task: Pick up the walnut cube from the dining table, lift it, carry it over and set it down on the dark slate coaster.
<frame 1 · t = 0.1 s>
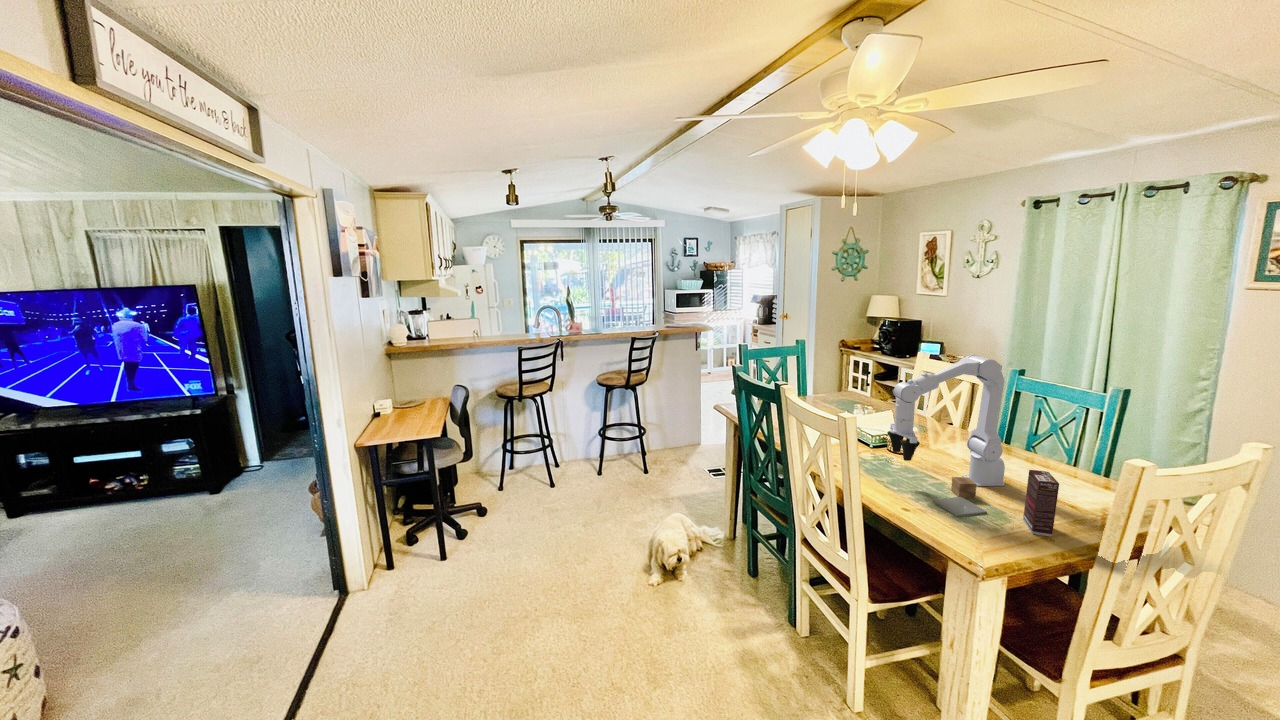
hand: (901, 455, 169), 10 cm above the table, fingers open, 7 cm apart
slate coaster: (959, 507, 153), on the table
walnut cube: (962, 494, 161), on the table
supplement box: (1037, 529, 140), on the table
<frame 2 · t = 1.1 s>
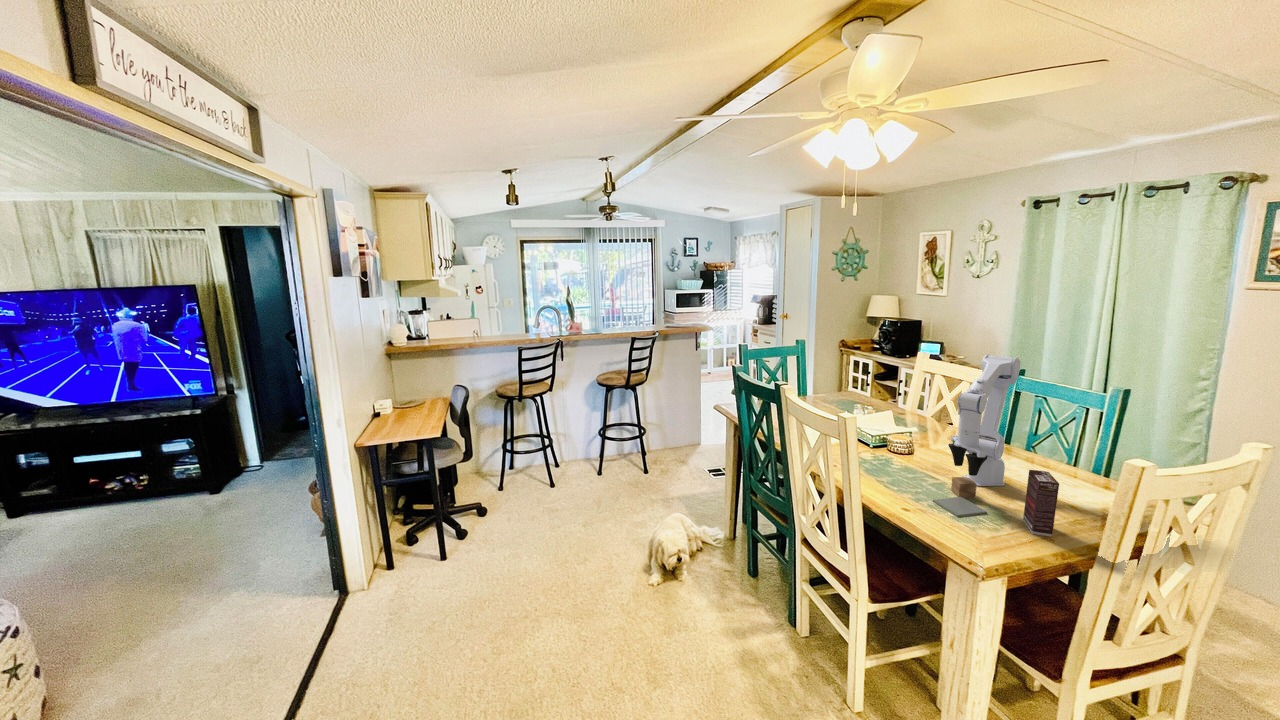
hand: (965, 470, 159), 9 cm above the table, fingers open, 7 cm apart
nothing on the table moved.
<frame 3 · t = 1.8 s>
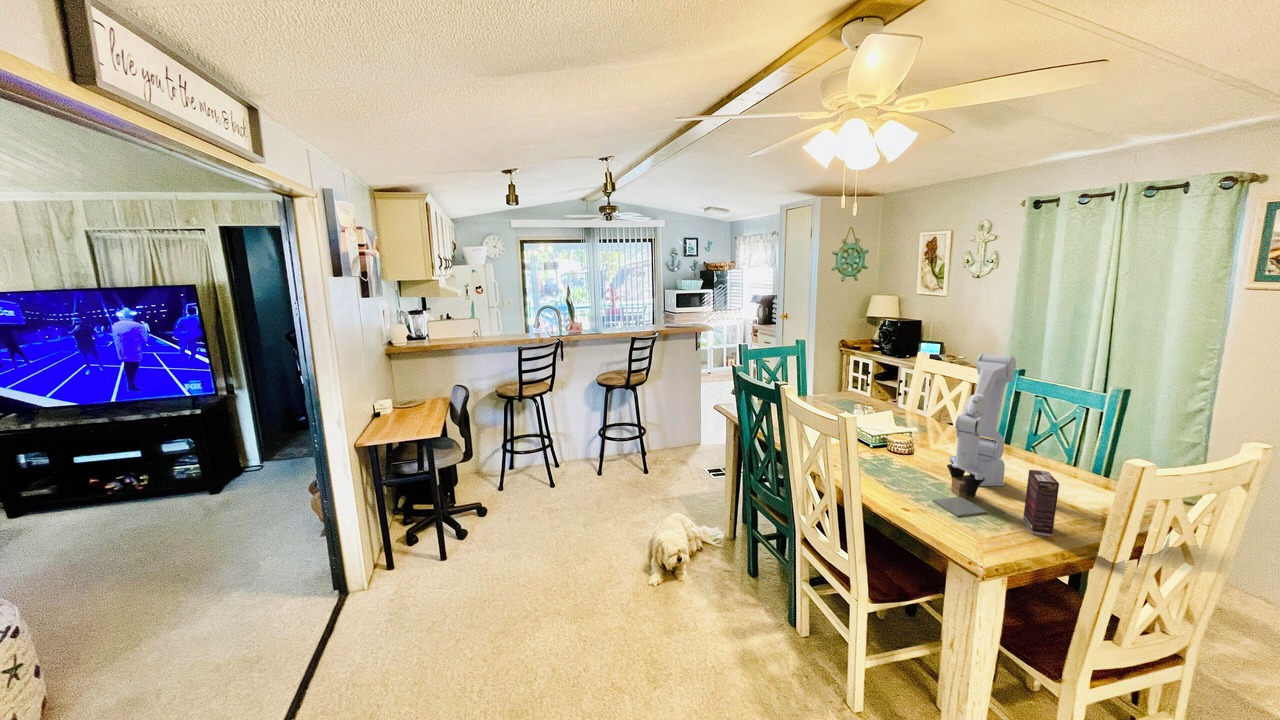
hand: (963, 491, 161), 1 cm above the table, fingers open, 6 cm apart
walnut cube: (962, 494, 161), on the table, touching gripper
everything else where it was.
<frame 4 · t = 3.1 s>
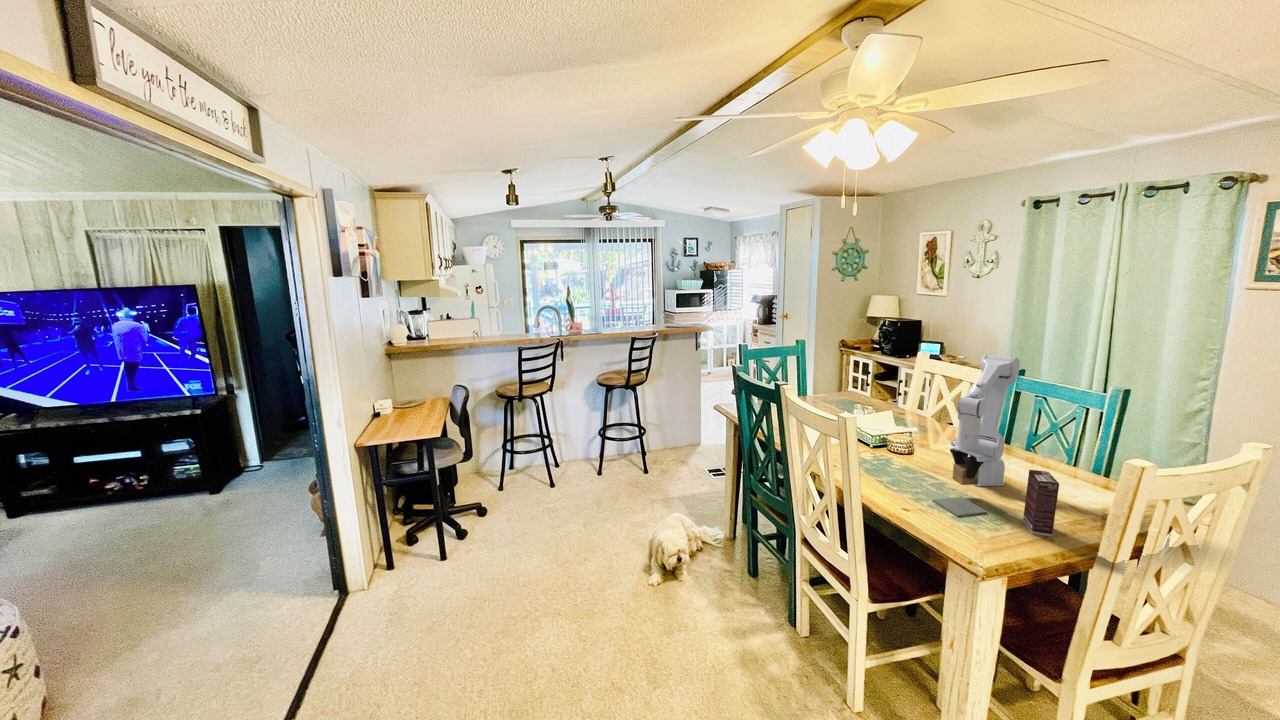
hand: (965, 474, 160), 7 cm above the table, fingers closed on walnut cube, 5 cm apart
walnut cube: (964, 481, 160), point 5 cm above the table, touching gripper
everything else where it was.
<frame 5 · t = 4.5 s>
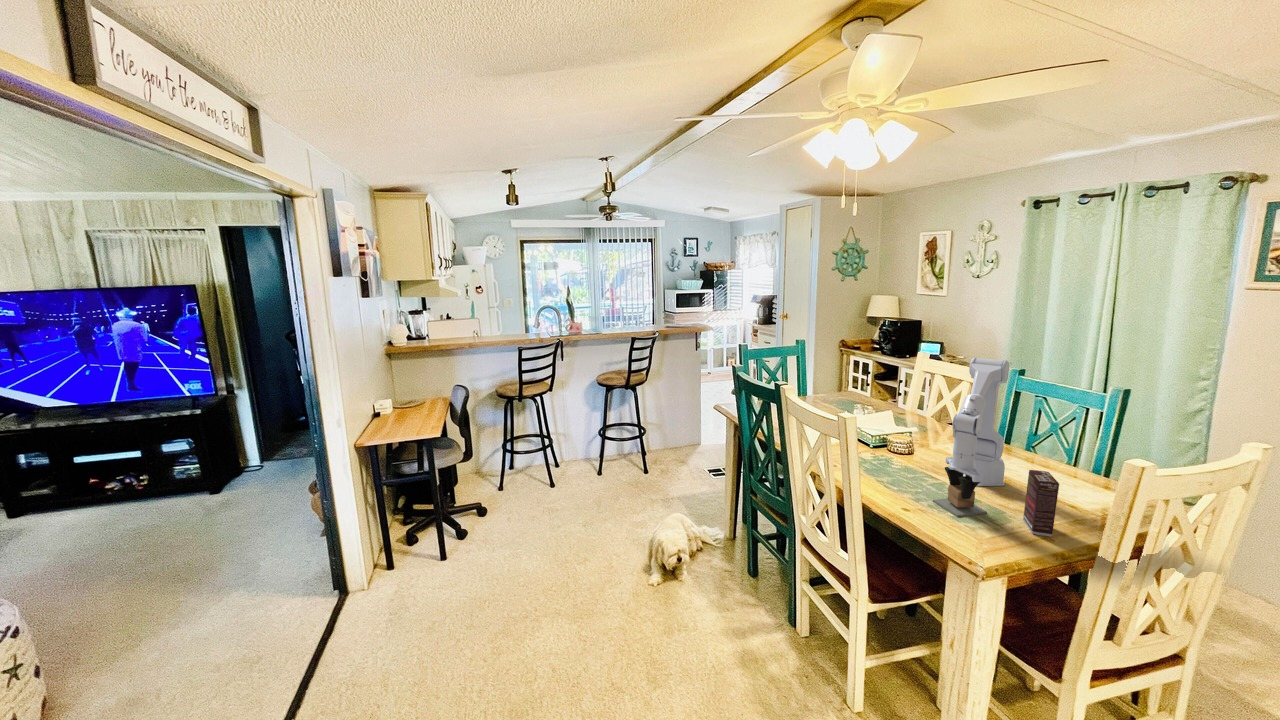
hand: (960, 494, 152), 4 cm above the table, fingers closed on walnut cube, 5 cm apart
walnut cube: (960, 503, 153), point 1 cm above the table, touching gripper
everything else where it was.
when the fingers open (3 cm above the table, at t = 5.3 s): walnut cube stays where it is, resting on slate coaster.
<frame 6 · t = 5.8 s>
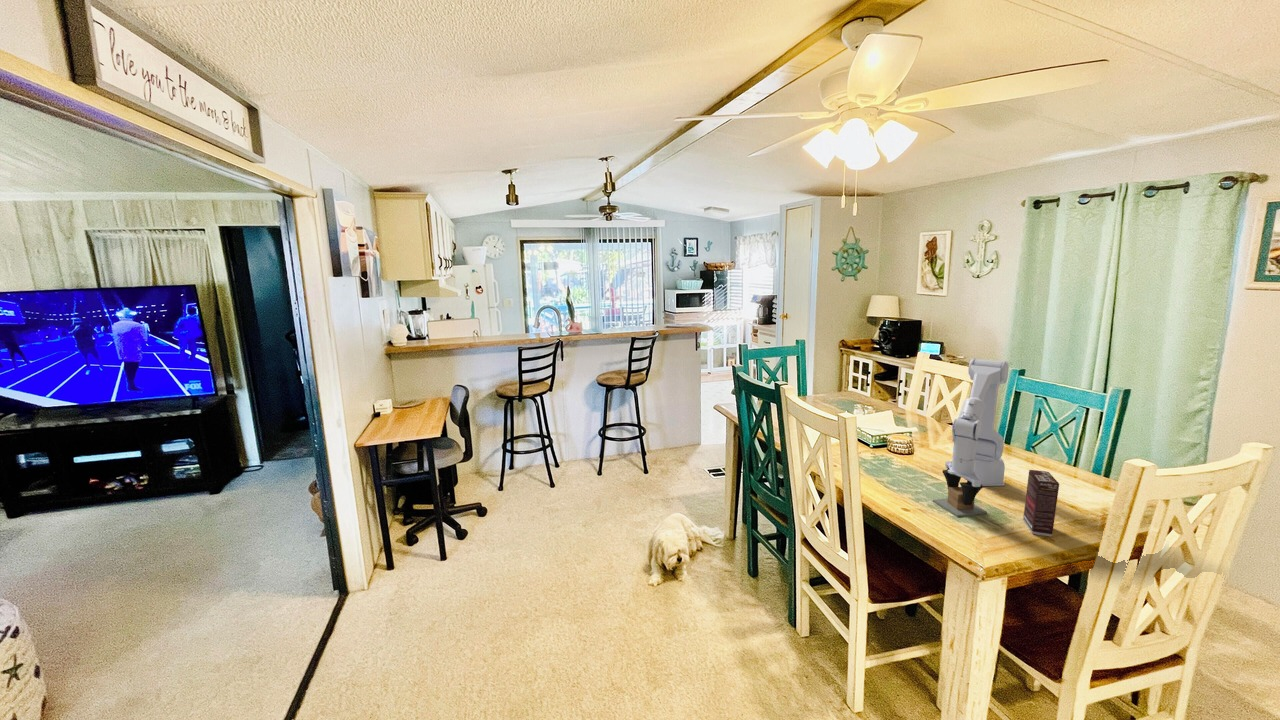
hand: (960, 498, 153), 3 cm above the table, fingers open, 7 cm apart
walnut cube: (960, 505, 153), point 1 cm above the table, touching slate coaster
everything else where it was.
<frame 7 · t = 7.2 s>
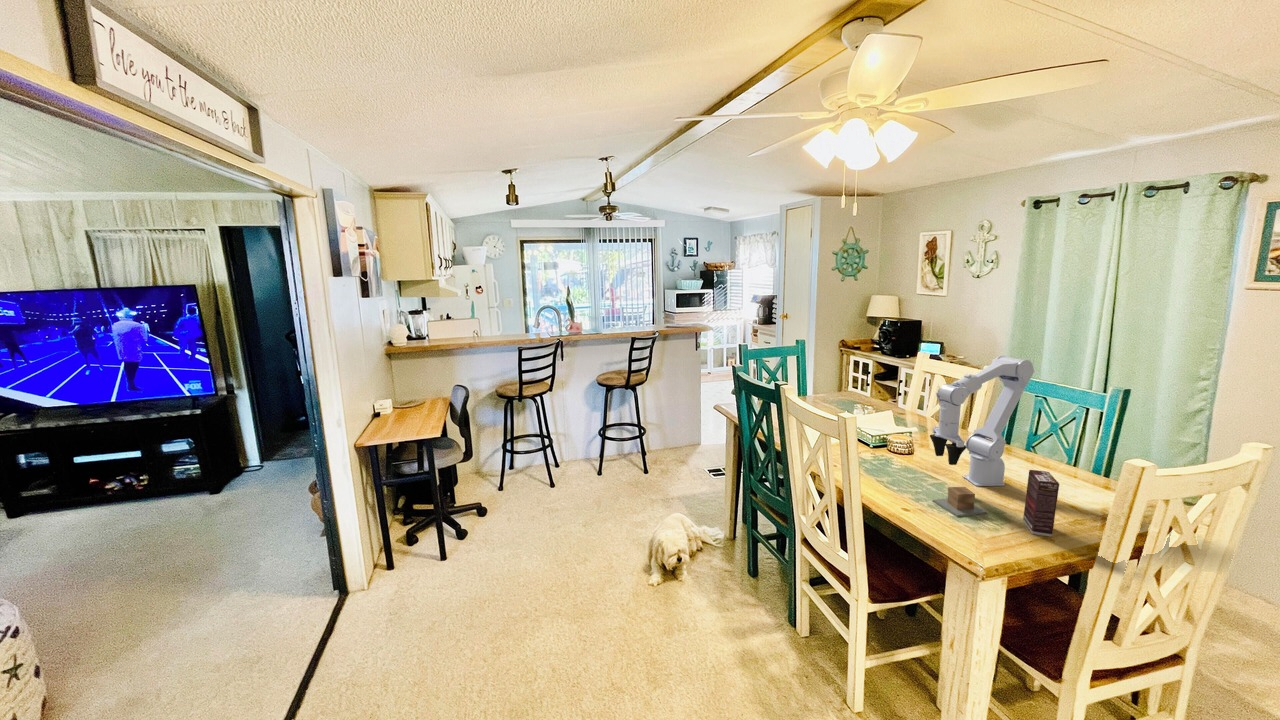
hand: (945, 460, 165), 10 cm above the table, fingers open, 7 cm apart
nothing on the table moved.
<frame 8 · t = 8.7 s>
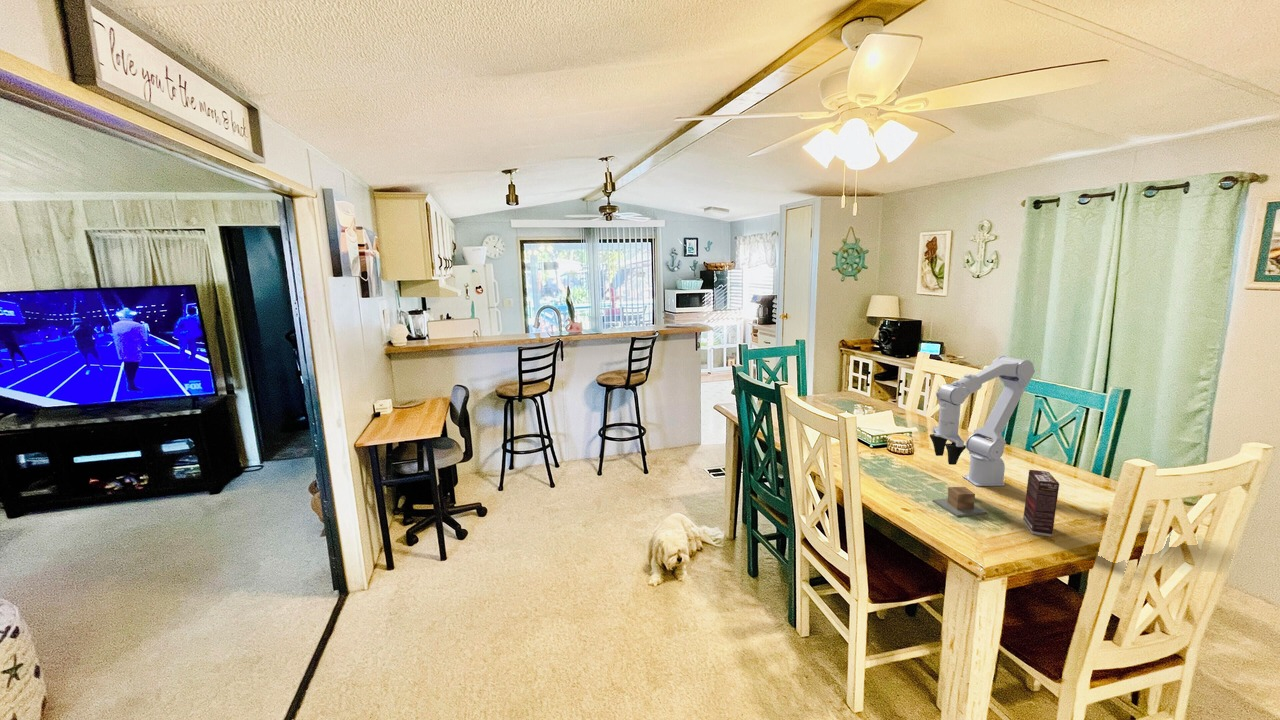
hand: (945, 459, 165), 10 cm above the table, fingers open, 7 cm apart
nothing on the table moved.
at the end: walnut cube inside the target area on the slate coaster (0.3 cm from its centre), point 0.6 cm above the slate coaster's base; walnut cube tilted 0°; the gripper is holding nothing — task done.
